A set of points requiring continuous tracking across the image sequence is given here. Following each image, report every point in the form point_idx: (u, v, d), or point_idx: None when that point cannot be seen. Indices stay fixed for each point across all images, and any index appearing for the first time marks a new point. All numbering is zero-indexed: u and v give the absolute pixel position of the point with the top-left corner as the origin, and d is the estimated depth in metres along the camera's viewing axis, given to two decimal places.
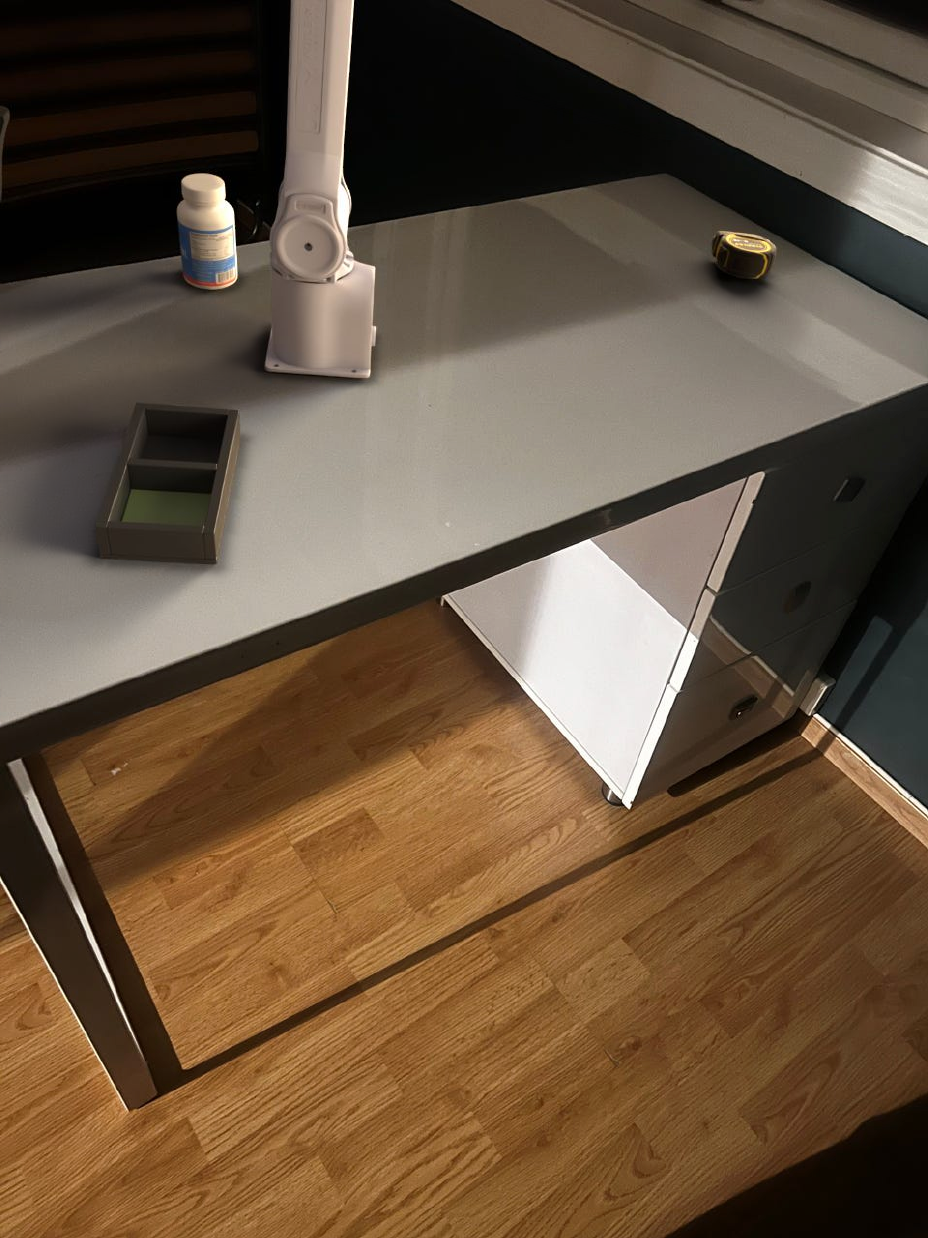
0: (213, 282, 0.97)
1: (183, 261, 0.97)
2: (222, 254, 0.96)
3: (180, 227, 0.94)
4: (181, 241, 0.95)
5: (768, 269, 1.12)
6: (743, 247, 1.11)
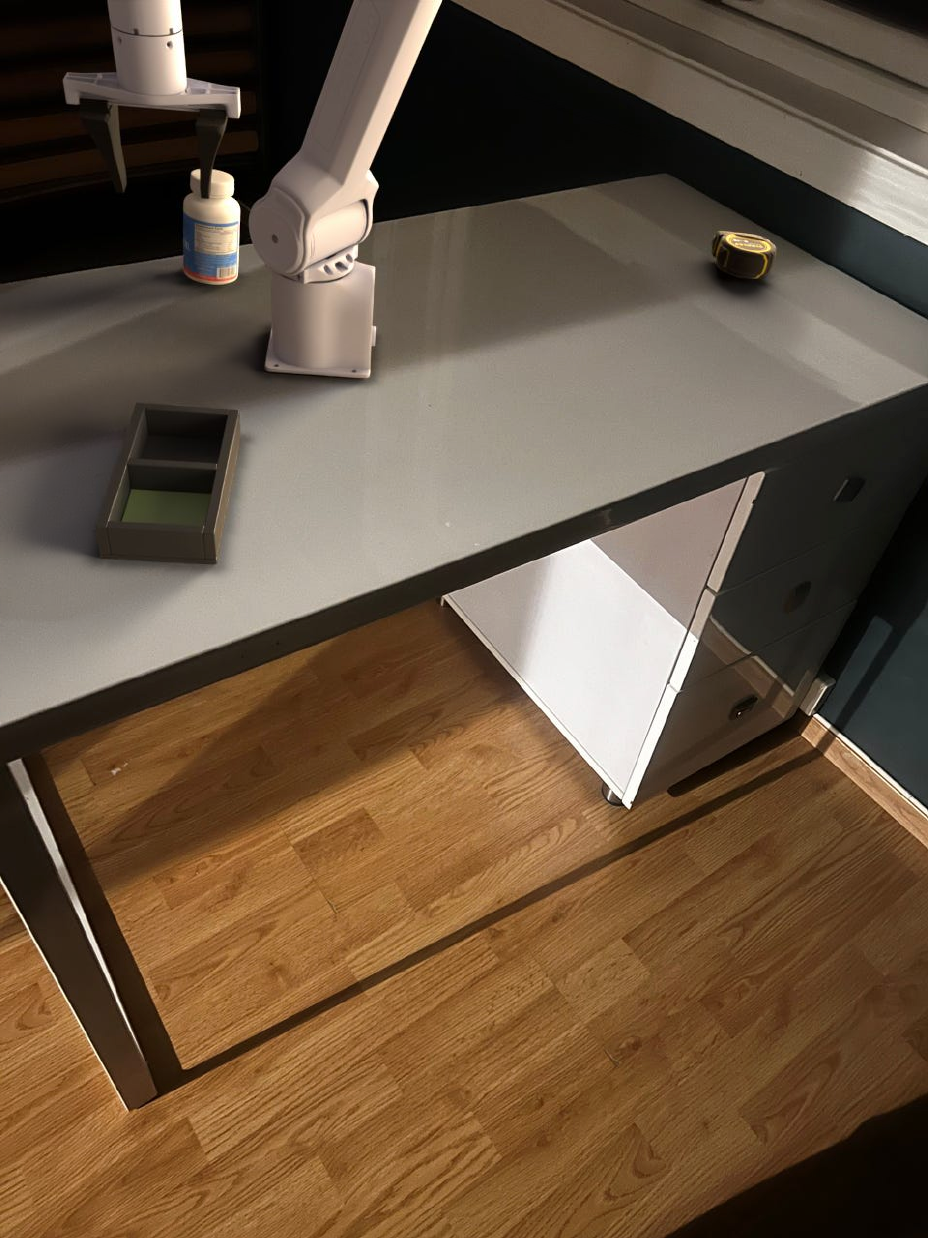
0: (214, 277, 0.97)
1: (185, 254, 0.96)
2: (226, 248, 0.96)
3: (185, 219, 0.94)
4: (185, 233, 0.95)
5: (768, 269, 1.12)
6: (743, 247, 1.11)
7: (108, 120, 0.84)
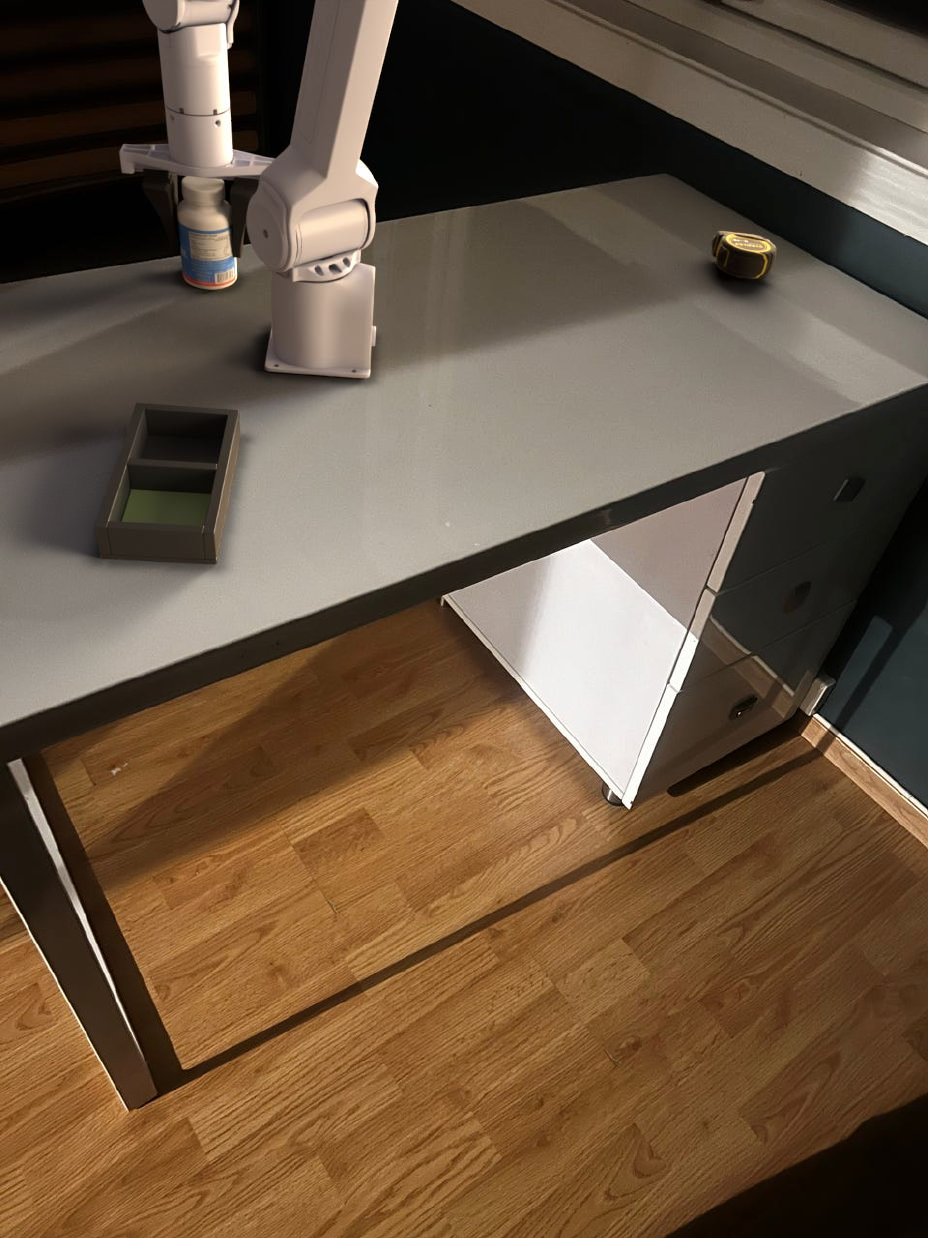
0: (212, 282, 0.97)
1: (182, 261, 0.97)
2: (222, 254, 0.96)
3: (180, 227, 0.94)
4: (181, 241, 0.95)
5: (768, 269, 1.12)
6: (743, 247, 1.11)
7: (168, 189, 0.91)
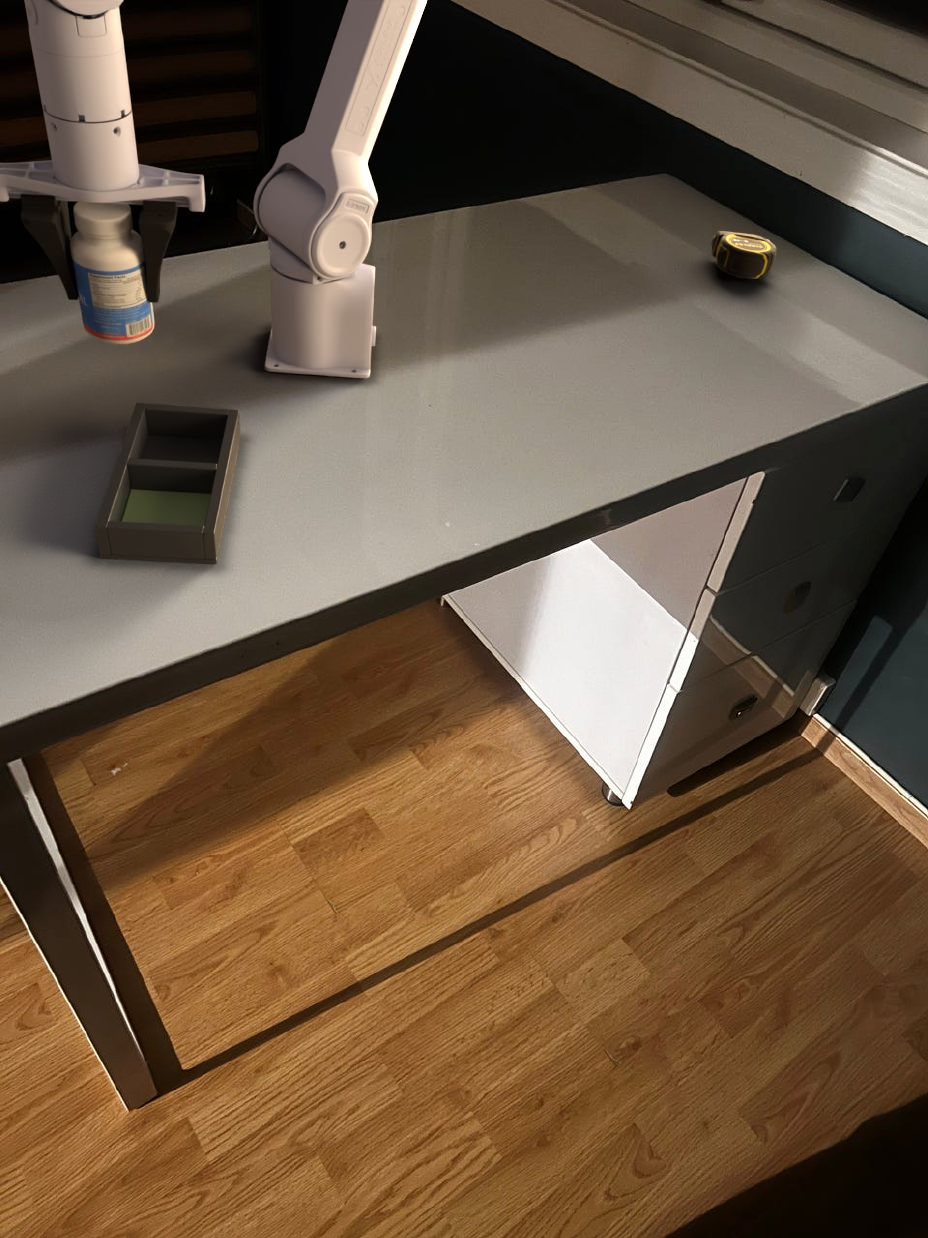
0: (123, 335, 0.76)
1: (82, 310, 0.75)
2: (133, 299, 0.74)
3: (75, 267, 0.72)
4: (78, 285, 0.73)
5: (768, 269, 1.12)
6: (743, 247, 1.11)
7: (56, 220, 0.69)
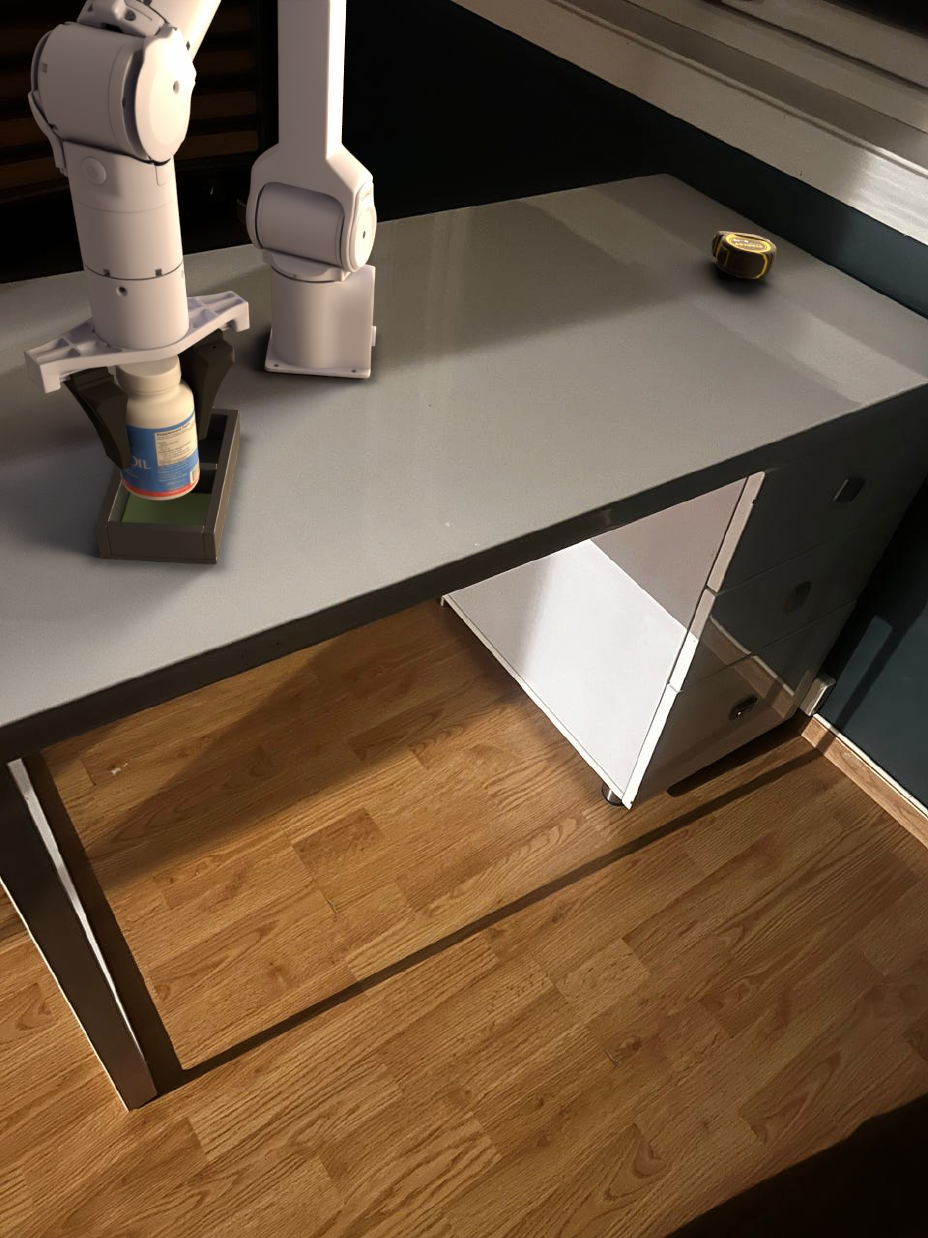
0: (188, 484, 0.68)
1: (138, 475, 0.66)
2: (194, 443, 0.67)
3: (133, 432, 0.64)
4: (135, 450, 0.65)
5: (768, 269, 1.12)
6: (743, 247, 1.11)
7: (123, 390, 0.60)
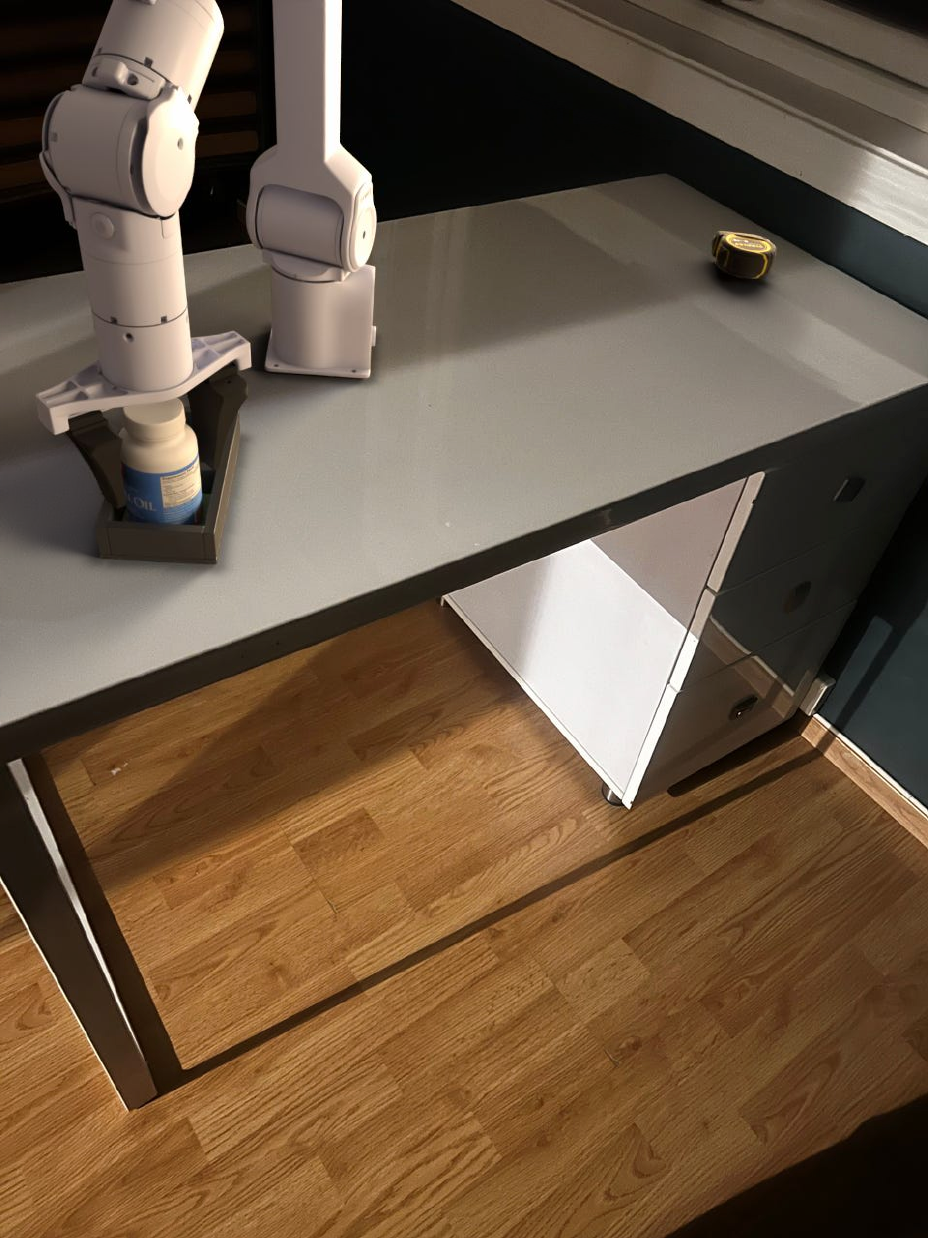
0: (192, 524, 0.71)
1: (144, 516, 0.69)
2: (198, 485, 0.70)
3: (140, 477, 0.66)
4: (141, 493, 0.67)
5: (768, 269, 1.12)
6: (743, 247, 1.11)
7: (117, 434, 0.62)
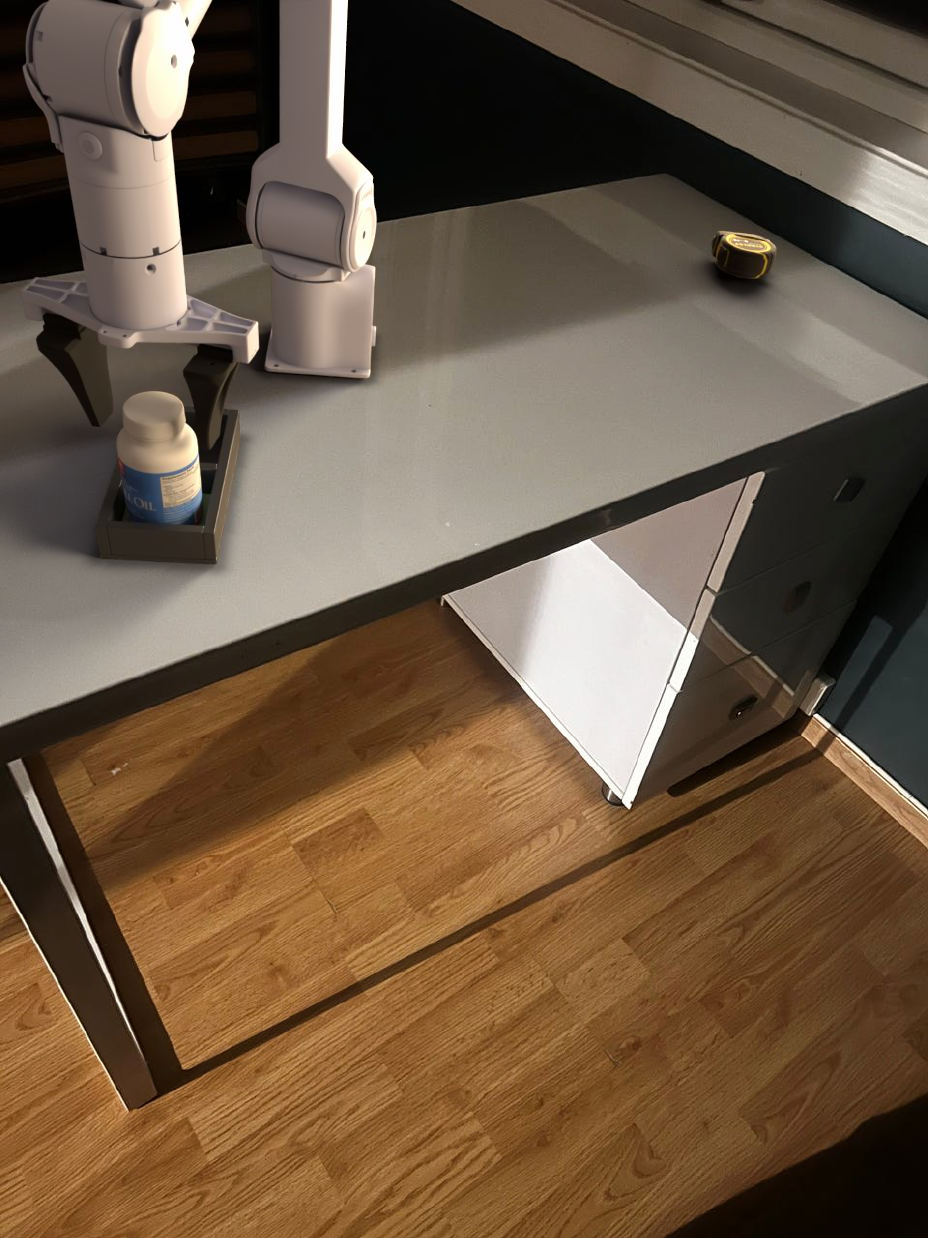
0: (192, 524, 0.71)
1: (144, 516, 0.69)
2: (198, 485, 0.70)
3: (140, 477, 0.66)
4: (141, 493, 0.67)
5: (768, 269, 1.12)
6: (743, 247, 1.11)
7: None
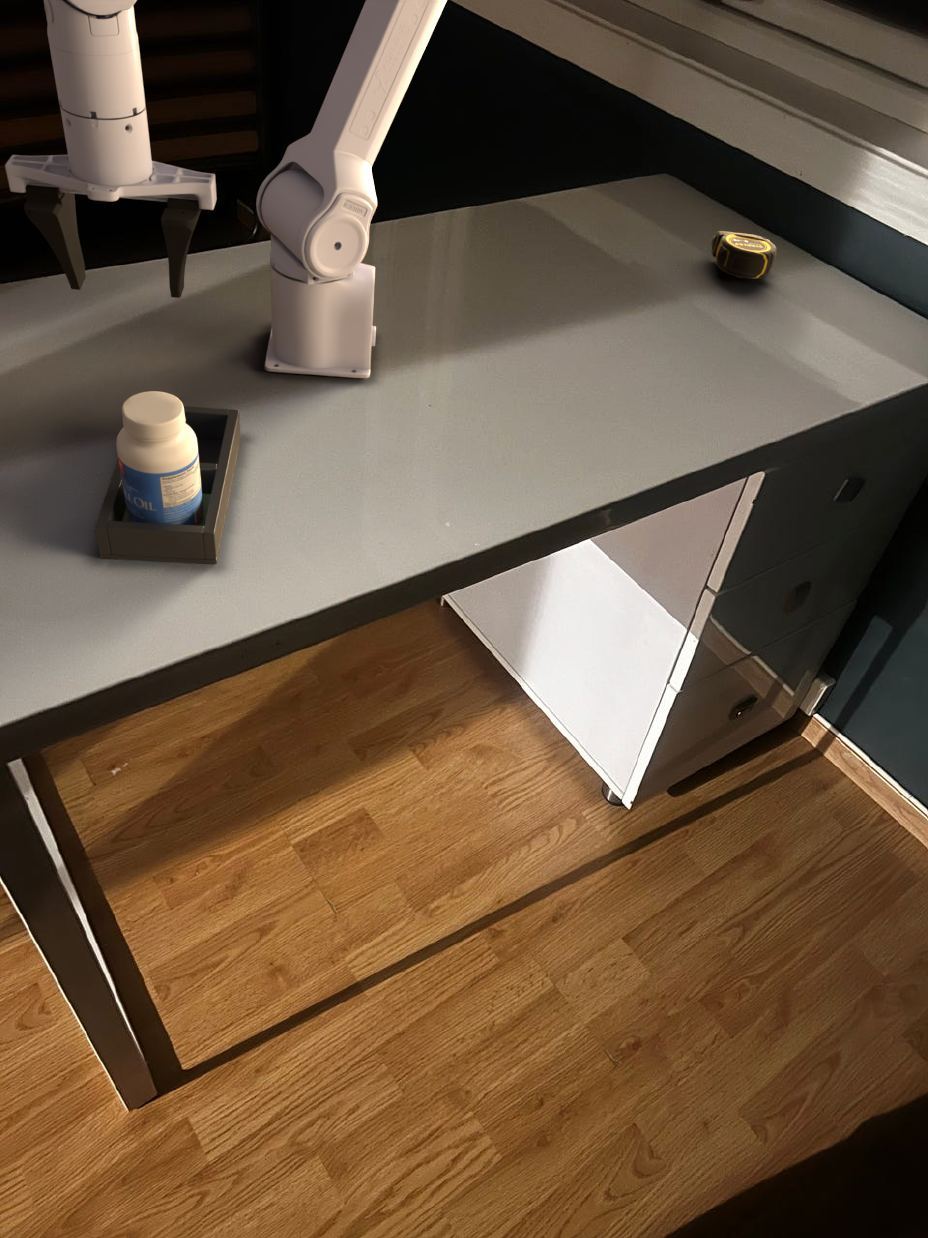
0: (192, 524, 0.71)
1: (144, 516, 0.69)
2: (198, 485, 0.70)
3: (140, 477, 0.66)
4: (141, 493, 0.67)
5: (768, 269, 1.12)
6: (743, 247, 1.11)
7: None
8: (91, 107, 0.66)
